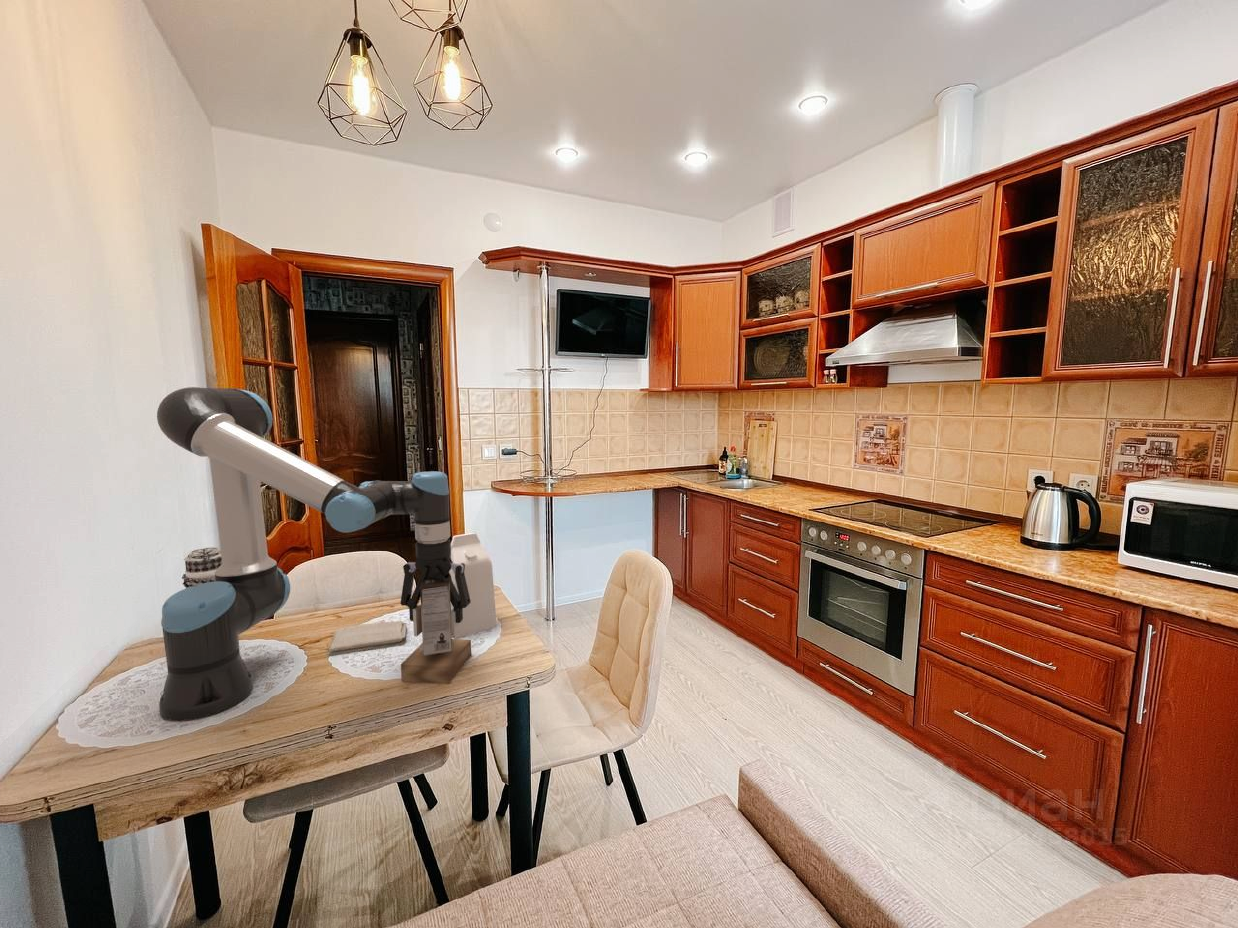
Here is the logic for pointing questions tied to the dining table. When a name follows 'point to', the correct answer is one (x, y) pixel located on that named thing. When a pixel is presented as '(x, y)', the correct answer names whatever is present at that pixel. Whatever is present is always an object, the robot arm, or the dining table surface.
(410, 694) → the dining table surface
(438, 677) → the pedestal
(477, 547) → the milk
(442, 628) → the coffee box
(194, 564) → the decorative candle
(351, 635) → the washcloth
